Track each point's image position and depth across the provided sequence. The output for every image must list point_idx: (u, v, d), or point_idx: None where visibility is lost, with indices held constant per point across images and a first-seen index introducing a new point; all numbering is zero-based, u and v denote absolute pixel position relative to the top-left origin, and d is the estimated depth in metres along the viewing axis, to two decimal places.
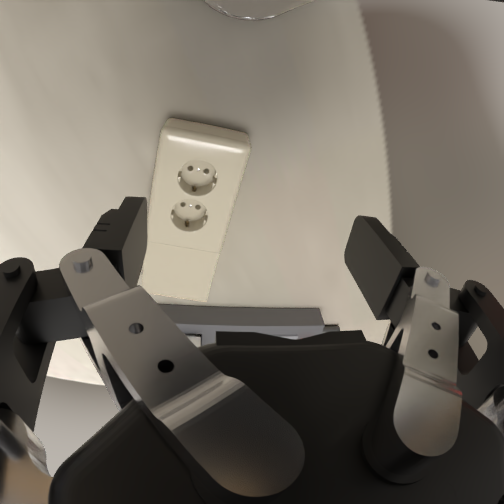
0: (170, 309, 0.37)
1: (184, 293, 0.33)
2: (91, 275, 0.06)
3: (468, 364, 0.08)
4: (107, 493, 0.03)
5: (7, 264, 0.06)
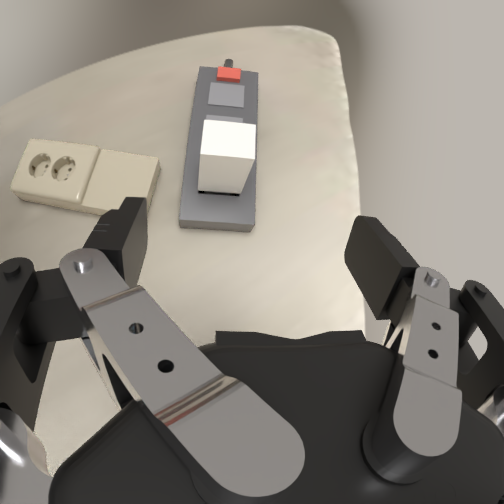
0: None
1: (145, 176, 0.33)
2: (91, 275, 0.06)
3: (468, 364, 0.08)
4: (107, 493, 0.03)
5: (7, 264, 0.06)
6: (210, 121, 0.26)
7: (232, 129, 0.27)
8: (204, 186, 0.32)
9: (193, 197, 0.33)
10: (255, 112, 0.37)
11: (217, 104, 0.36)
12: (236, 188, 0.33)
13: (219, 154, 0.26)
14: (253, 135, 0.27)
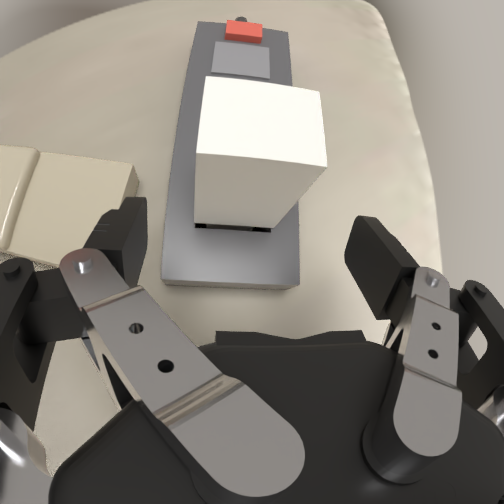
0: None
1: (108, 197, 0.18)
2: (91, 275, 0.06)
3: (468, 364, 0.08)
4: (107, 493, 0.03)
5: (7, 264, 0.06)
6: (220, 80, 0.11)
7: (270, 98, 0.11)
8: (206, 217, 0.17)
9: (186, 235, 0.18)
10: None
11: (227, 72, 0.21)
12: (268, 220, 0.17)
13: (243, 153, 0.10)
14: (317, 113, 0.11)
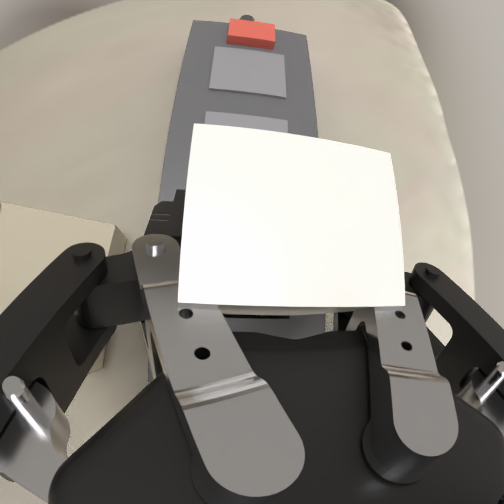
0: None
1: None
2: (160, 259, 0.07)
3: None
4: (107, 493, 0.03)
5: (78, 247, 0.07)
6: (220, 131, 0.06)
7: (314, 169, 0.06)
8: None
9: None
10: (311, 109, 0.17)
11: (230, 89, 0.16)
12: None
13: (267, 298, 0.06)
14: (391, 198, 0.07)
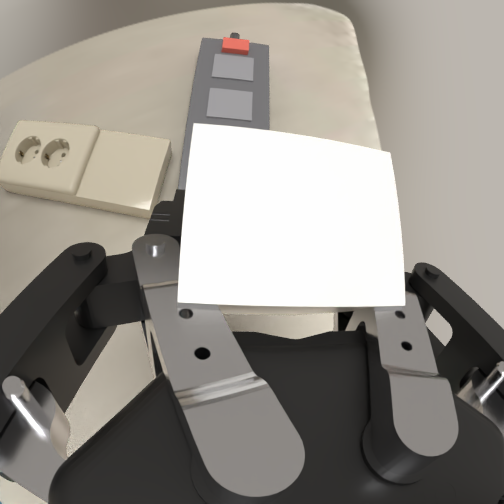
0: None
1: (153, 161, 0.27)
2: (160, 259, 0.07)
3: None
4: (107, 493, 0.03)
5: (78, 247, 0.07)
6: (220, 131, 0.06)
7: (314, 169, 0.06)
8: None
9: None
10: (267, 86, 0.31)
11: (222, 77, 0.30)
12: (288, 314, 0.12)
13: (267, 298, 0.06)
14: (391, 197, 0.07)
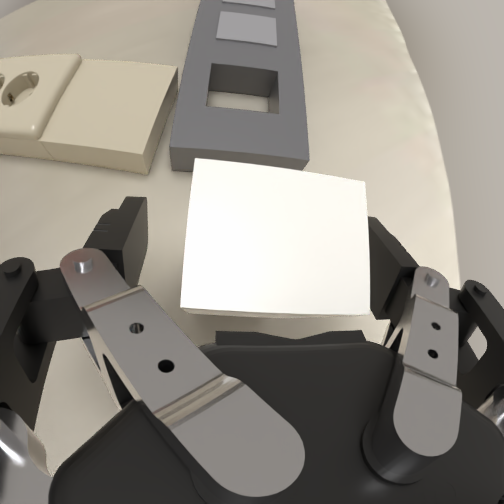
0: None
1: (152, 91, 0.18)
2: (92, 275, 0.06)
3: (468, 364, 0.08)
4: (107, 493, 0.03)
5: (8, 264, 0.06)
6: (217, 166, 0.08)
7: (295, 199, 0.08)
8: None
9: (197, 112, 0.17)
10: (292, 15, 0.21)
11: (236, 2, 0.20)
12: None
13: (252, 305, 0.07)
14: (362, 222, 0.08)
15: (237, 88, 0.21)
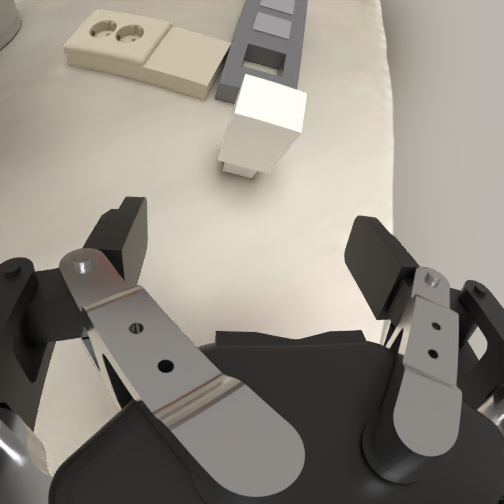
0: None
1: (216, 54, 0.29)
2: (91, 275, 0.06)
3: (468, 364, 0.08)
4: (107, 493, 0.03)
5: (7, 264, 0.06)
6: (252, 77, 0.20)
7: (278, 92, 0.20)
8: (227, 157, 0.26)
9: (236, 68, 0.29)
10: (303, 21, 0.32)
11: (268, 7, 0.31)
12: (265, 166, 0.26)
13: (258, 117, 0.20)
14: (302, 104, 0.20)
15: (260, 61, 0.33)
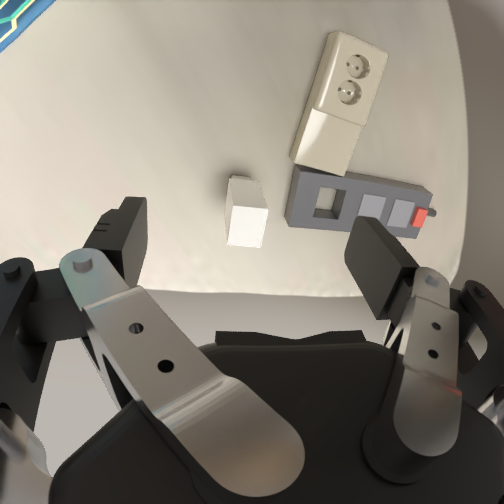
0: (318, 169, 0.42)
1: (329, 165, 0.39)
2: (91, 275, 0.06)
3: (468, 364, 0.08)
4: (107, 493, 0.03)
5: (7, 264, 0.06)
6: (265, 214, 0.33)
7: (256, 230, 0.33)
8: (229, 186, 0.38)
9: (317, 183, 0.40)
10: None
11: (393, 206, 0.43)
12: (225, 211, 0.39)
13: (232, 219, 0.32)
14: (249, 245, 0.34)
15: (336, 197, 0.44)
